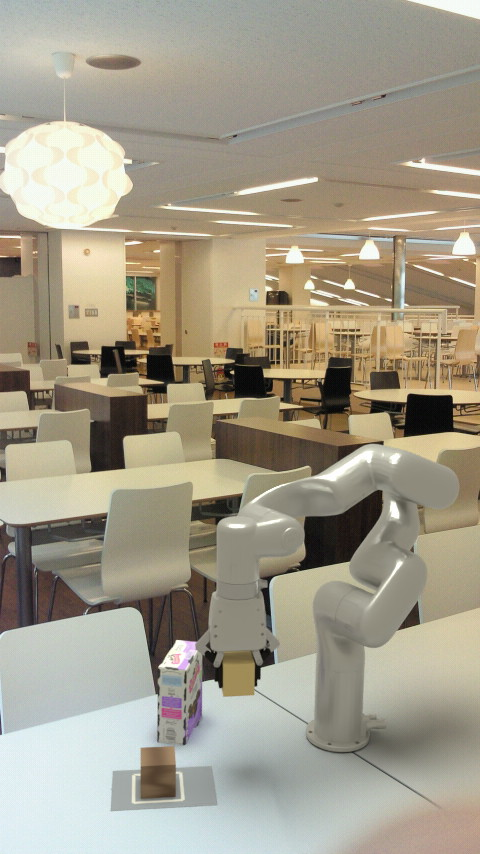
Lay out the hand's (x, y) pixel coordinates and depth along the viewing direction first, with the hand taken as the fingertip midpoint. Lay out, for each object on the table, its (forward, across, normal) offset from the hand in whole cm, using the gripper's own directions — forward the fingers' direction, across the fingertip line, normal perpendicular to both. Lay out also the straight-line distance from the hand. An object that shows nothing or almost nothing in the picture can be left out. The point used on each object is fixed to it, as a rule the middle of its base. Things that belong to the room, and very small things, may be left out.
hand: (237, 683), depth 151 cm
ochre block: (+1, 0, 0) cm, 1 cm away
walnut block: (+17, +14, +4) cm, 23 cm away
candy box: (+18, +9, -17) cm, 26 cm away
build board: (+18, +13, +4) cm, 23 cm away
